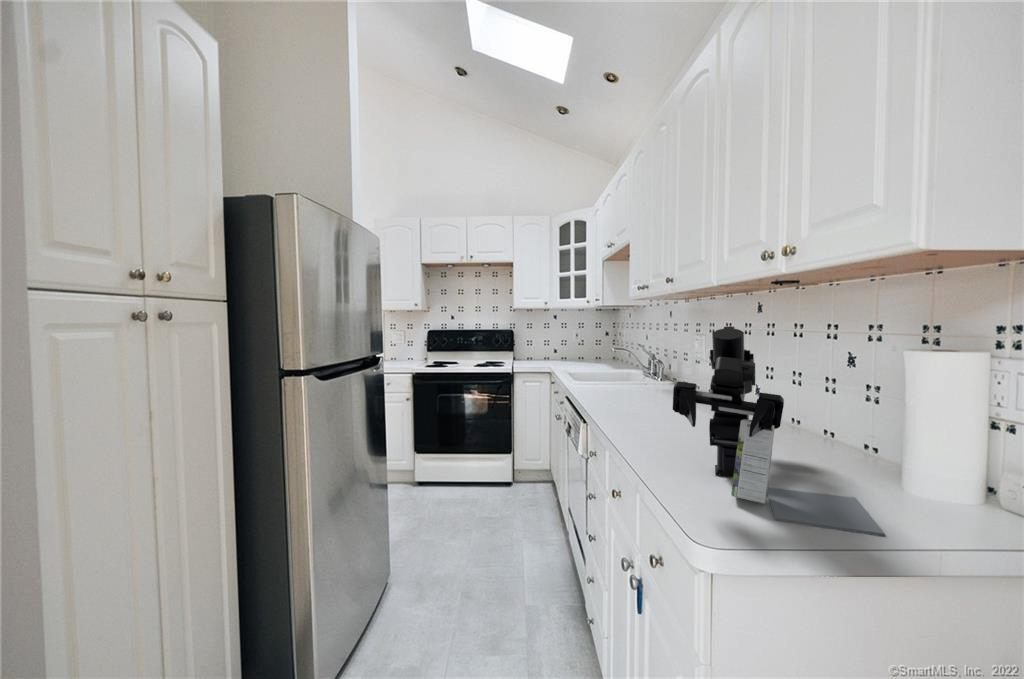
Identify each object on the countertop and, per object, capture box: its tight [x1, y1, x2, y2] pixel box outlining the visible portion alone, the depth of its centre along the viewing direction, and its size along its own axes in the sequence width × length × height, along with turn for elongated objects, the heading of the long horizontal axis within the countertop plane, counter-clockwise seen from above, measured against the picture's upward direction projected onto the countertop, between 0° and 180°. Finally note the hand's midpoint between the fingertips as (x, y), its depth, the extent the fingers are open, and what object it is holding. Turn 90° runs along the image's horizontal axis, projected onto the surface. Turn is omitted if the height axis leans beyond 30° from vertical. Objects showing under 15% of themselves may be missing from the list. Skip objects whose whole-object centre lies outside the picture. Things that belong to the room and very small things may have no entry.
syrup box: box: [730, 419, 776, 504], centre depth 86 cm, size 6×6×14 cm
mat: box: [766, 486, 886, 537], centre depth 81 cm, size 16×15×1 cm
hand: (721, 429), depth 80 cm, fingers open, 9 cm apart
